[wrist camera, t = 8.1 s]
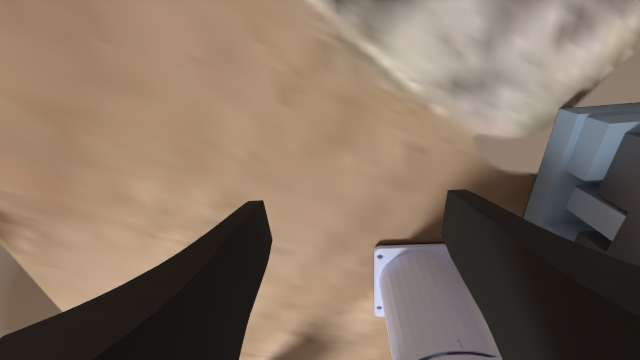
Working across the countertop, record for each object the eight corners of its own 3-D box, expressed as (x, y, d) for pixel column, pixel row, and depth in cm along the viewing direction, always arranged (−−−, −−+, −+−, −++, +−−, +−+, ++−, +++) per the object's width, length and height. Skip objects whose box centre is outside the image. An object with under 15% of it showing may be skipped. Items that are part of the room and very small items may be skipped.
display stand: (588, 245, 22) (652, 296, 17) (513, 247, 22) (557, 298, 18) (662, 100, 16) (785, 121, 12) (559, 108, 17) (639, 131, 12)
